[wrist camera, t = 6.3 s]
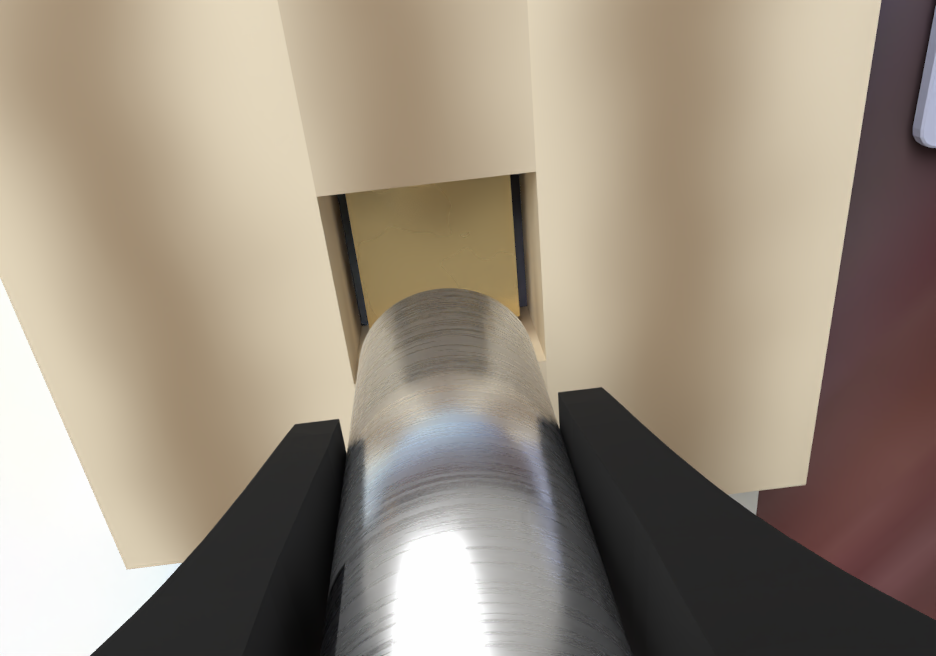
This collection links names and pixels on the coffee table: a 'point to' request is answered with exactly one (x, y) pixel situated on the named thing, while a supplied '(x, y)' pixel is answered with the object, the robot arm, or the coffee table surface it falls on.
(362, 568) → the metal cylinder
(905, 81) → the coffee table surface
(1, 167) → the socket block
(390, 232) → the tan flat square block
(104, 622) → the coffee table surface
